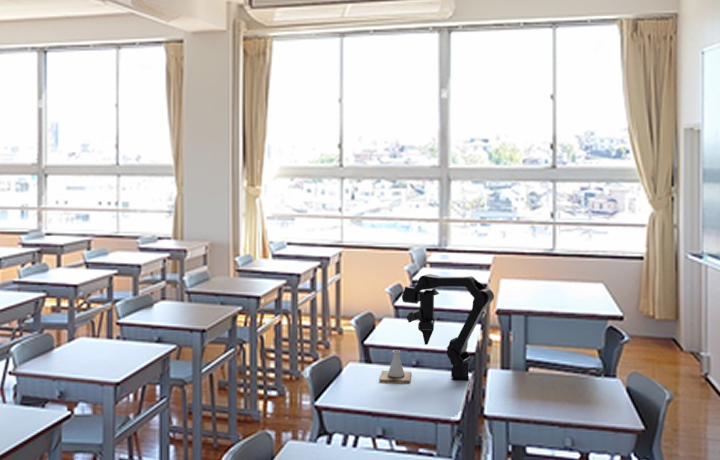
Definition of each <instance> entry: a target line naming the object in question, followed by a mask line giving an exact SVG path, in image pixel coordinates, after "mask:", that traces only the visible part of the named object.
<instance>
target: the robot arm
mask: <svg viewBox="0 0 720 460" xmlns="http://www.w3.org/2000/svg"><path fill="white" fill-rule="evenodd" d="M439 287H441V288H442V287H444V288H445V287H447V288H448V287H451V288H453V287H454V288H456V287H460V288H461V287H465V288H466V289H467V291H468V293H469V294H470V295H471V297H472V298H473V301H472V307H471V310H470V312H469V314H468V316H467V318H466V320H465V322H464V324H463V326H462V328H461V330H460V332H459V334H458V336H457V337H454V338H452V339H450V341H449V344H448V346H447V347H446V348H445V349H446V355H447V356H446V357H448V360H449V362H450V365H451V368H450V369H451V371H450V377H451V378H452V380H453V381H469V380H470V379H469V378H470V376H469V362H470V361H471V359H472V356H471V354H470V353H469V352H468V351H467V349H468V343H469V339H470V337H471V336H472V334H473V332H474V330H475V328H476V326H477V324H478V322H479V320H480V318H481V316H482V314H483V312H484V311H485V310H486V309H488V307H490V306H489V305H491V303H492V302H493V300H494V298H495V295H494V292H493V290H491V289H489V288H487V287H486V286H485V285H484V284H482V283H481V282H479V281H478V280H477V279H476V278H475V277H474V276H472V275H469V276H440V275H436V274H432V273H429V274H428V273H427V274H424V275H421V276H420V277H419V278H418V282H417V284H416V285H415V286H414V287H412V286H404V290H403V292H402V295H401V299H402V302H403V303H406V304H414V305H415V304H418V303H419V308H418V309H417V310H414V311H411V312H408V313H406V314H405V317H406V319H407V323H412V322H414V321H416V320H418V321H419V322H418V325H417V326H418V331H420V332H421V334H422V336H423V342H424V345H426V346H427V345H429V343H430V342H429V341H430V339H431V337H432V334H433V333H434V328H435V322H436V319H435V318H436V315H435V314H434V313H435V311H434V310H435V296H437V295H440V293H439V291H437V290H436V288H439ZM423 290H424V291H423Z"/></svg>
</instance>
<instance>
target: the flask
mask: <svg viewBox="0 0 720 460" xmlns="http://www.w3.org/2000/svg"><path fill="white" fill-rule="evenodd" d="M400 354H401V350H397V349H394V350H392V361H391V363H390V367H389V369H388V371H389V372H388V376H390V377H403V376H405V373H404V372H405V370H404V368H403V365H402V362H401V356H400Z"/></svg>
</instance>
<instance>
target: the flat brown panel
mask: <svg viewBox="0 0 720 460" xmlns="http://www.w3.org/2000/svg"><path fill="white" fill-rule="evenodd" d="M388 372H389V370H382V371H381V375H380V377H379V383H383V384H384V383H385V384H387V383H388V384H391V383H392V384H411V379H412V371H404V373H405V376H403V377H390V376H388Z"/></svg>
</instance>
